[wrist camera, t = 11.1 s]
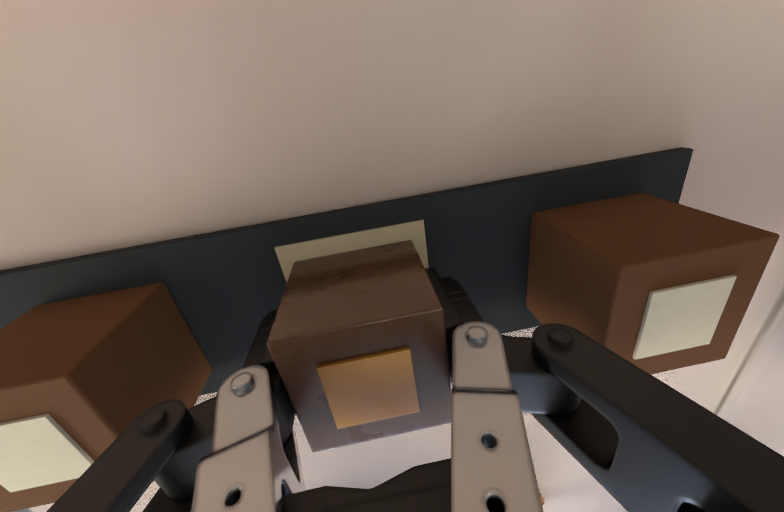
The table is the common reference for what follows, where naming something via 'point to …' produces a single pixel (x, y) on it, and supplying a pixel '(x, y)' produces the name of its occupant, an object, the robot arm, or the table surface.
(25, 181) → the table surface
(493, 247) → the mat
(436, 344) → the brown wooden cube
